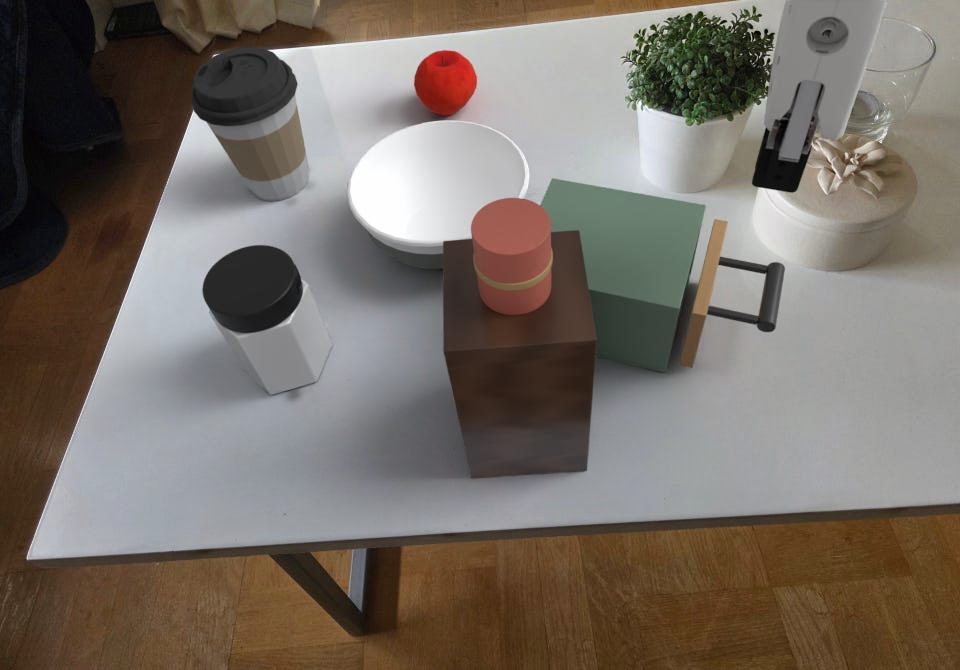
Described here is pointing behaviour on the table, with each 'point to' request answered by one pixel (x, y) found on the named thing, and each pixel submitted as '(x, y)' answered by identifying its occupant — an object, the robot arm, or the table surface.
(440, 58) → the apple
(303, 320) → the jar
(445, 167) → the bowl
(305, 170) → the coffee cup
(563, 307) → the block
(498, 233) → the red cylinder
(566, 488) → the table surface
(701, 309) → the drawer
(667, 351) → the cabinet
